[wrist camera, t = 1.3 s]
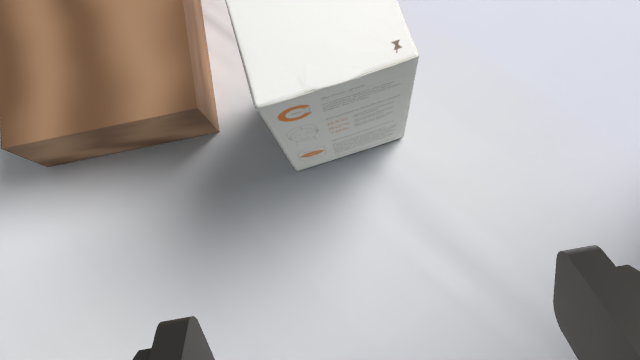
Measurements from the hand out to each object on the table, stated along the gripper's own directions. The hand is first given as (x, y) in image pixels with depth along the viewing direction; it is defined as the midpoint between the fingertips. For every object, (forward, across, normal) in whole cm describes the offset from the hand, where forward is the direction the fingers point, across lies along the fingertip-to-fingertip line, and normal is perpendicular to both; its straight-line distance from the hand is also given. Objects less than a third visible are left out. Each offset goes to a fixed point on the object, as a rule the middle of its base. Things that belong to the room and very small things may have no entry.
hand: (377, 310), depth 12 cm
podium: (+31, +15, +3) cm, 34 cm away
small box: (+26, 0, +8) cm, 27 cm away
